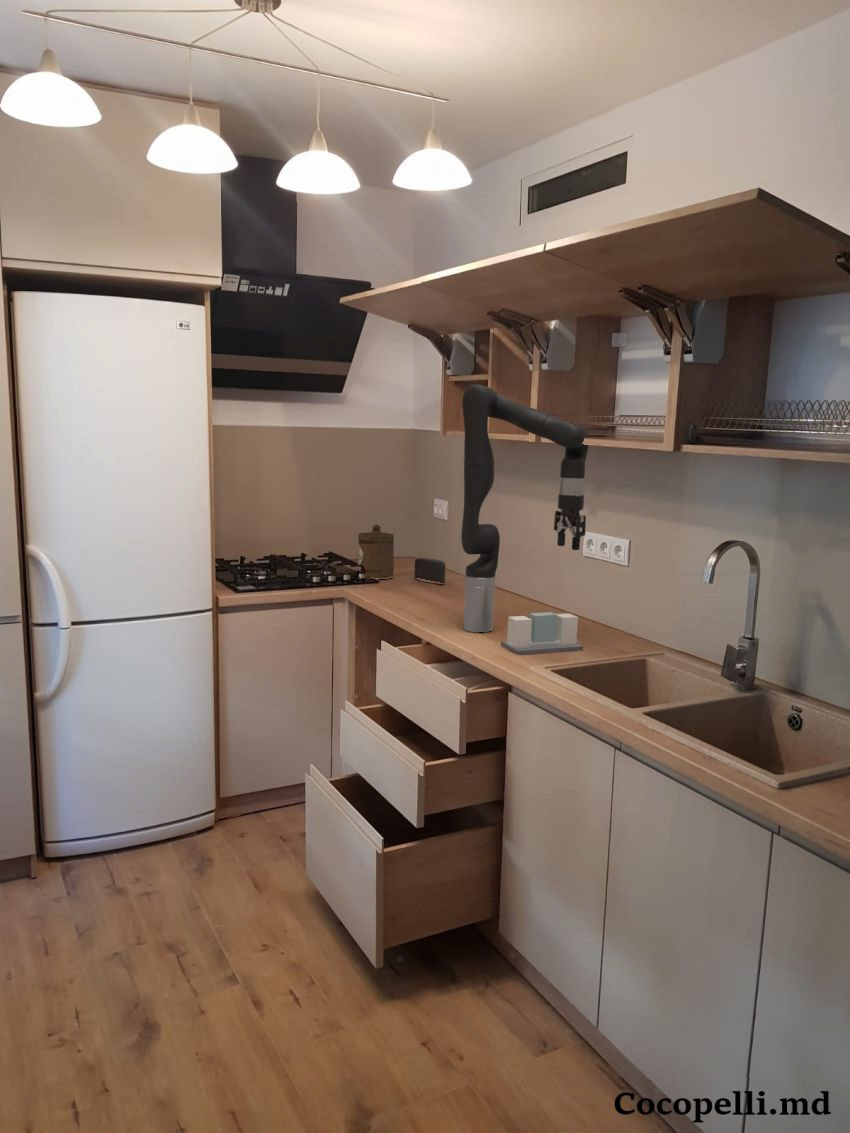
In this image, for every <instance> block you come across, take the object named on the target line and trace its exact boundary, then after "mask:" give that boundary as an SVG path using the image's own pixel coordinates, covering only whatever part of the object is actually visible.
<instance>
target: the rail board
mask: <svg viewBox="0 0 850 1133" xmlns="http://www.w3.org/2000/svg"><path fill="white" fill-rule="evenodd" d="M555 614H556V615H557V624H556V642H545V643H533V642H531V628H532V619H529V617H527V616H525V615H520V616H519V615H514V616H508V618H507V633H506V634H507V635H506V640H503V641H500V646H501V645H502V646H501V647H503V648H504V649H506V648H507V650H508V651H510V652H512V653H513V654H515V655H517V656H525V655H536V654H537V655H538V654H550V653H564V652H575V651H576V652H579V651H578V650H581V651H584V646H583V645H582V644H579V643H578V639H577V638H578V625H579V617H578V616H576V615H574V614H572V613H569V612H568V613H555Z"/></svg>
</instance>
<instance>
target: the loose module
mask: <svg viewBox="0 0 850 1133" xmlns="http://www.w3.org/2000/svg"><path fill="white" fill-rule="evenodd" d="M556 614H557V613H554V612H551V611H547V612H531V613H529V614H528V616H529V617H528V618H529V619H532V628H531V642H533V643H545V642H556V624H557V615H556Z"/></svg>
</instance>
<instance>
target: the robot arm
mask: <svg viewBox="0 0 850 1133" xmlns="http://www.w3.org/2000/svg"><path fill="white" fill-rule="evenodd" d="M461 404H462V415H463V416H462V417H463V426H464V446H463V447H464V449H463V450H464V456H463V457H464V458H463V481H464V482H463V484H464V485H463V486H464V488H463V490H464V492H463V493H464V494H463V497H464V498H463V511H462V512H463V513H462V515H463V516H462V523H461V545H462V546H461V547H462V550H463V552H464V553H466V554H467V555H479V557H478V558H477V560H475V561H473V562H471V563H470V564H468V565H467V566H466V567H465V578H464V579H465V582H464V584H465V585H464V586H465V587H464V608H463V612H464V613H463V631H466V632H471V633H478V634H479V632H484V633H490V632H489V631H491V632H493V631H494V615H495V612H494V611H495V595H496V594H495V591H496V590H495V589H496V571H497V568H498V564H499V563H498V562H499V553H500V552H499V551H500V543H501V542H500V541H501V539H500V538H501V537H500V532H499V529H498V527H497V526H496V525H495V524H491V523H485V524H482V523H480V524H479V521H480V520H479V517H480V512H481V508H482V505H483V504H484V501H485V499H486V498H487V496H488V495H489V493H490V491H491V489H492V487H493V485H494V481H495V458H494V452H493V449H492V445H491V440H490V437H489V431H488V429H489V428H488V423H489V420H488V418H492V419H497V420H501V421H504V422H506V423H507V422H508V423H510V424H512V425H514V426H515V427H518V428H520V429H522V430H523V431H525V432H528V433H530V434H532V435H535V436H538V437H541V438H543V439H547V440H549V441H551V442H553V443H555V444H556V445H559V446H562V447H563V448H565V452H564V457H563V459H562V460H561V462H560V463H561V464H560V476H559V482H558V496H557V509H559V510H555V512H554V521H553V522H554V523H553V530H554V531H556V533H557V544H556V545H557V546H558V547H564V546H565V545H566V532H567V530H568V529H569V532H571V535H572V538H571V539H572V540H571V550H572V551H579V550H580V547H581V546H580V545H581V538H582V537H584V536H586V528H587V527H586V525H587V524H586V523H587V521H586V519H587V517H586V515H585V514H580V511H582V510H584V506H585V505H584V504H585V488H586V484H585V483H586V482H585V474H586V460H587V456H588V450H589V446H590V444H589V445H584V444H582V443H583V441H584V438H587V437H589V438H590V434H589V431H588V429H587V427H585V426H583V425H582V424H574V423H570V422H567V421H565V420H561V419H559V418H558V417H557V416H554V415H553V414H550V413H547V412H545V411H541V410H540V409H537V408H533V407H530V406H526V405H523V404H520V403H518V402H515V401H513V400H511V399H508V398H507V397H505V396H503V395H502V394H500V393H498V392H496V391H495V390H494V389H492V388H491V387H489V386H486V385H482V384H477V383H476V384H475V383H473V384H471V385H469V386H468V387H466V389H465V391H464V392H463V394H462V398H461Z"/></svg>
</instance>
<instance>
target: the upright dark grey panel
mask: <svg viewBox="0 0 850 1133" xmlns="http://www.w3.org/2000/svg"><path fill="white" fill-rule="evenodd" d="M415 578H420V579H425V580H430V581H435V582H440V583H446V563H445V562H444V561H442V560H440V559H435V558H428V557H427V558H426V557H417V558H415V561H414V579H415Z"/></svg>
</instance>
